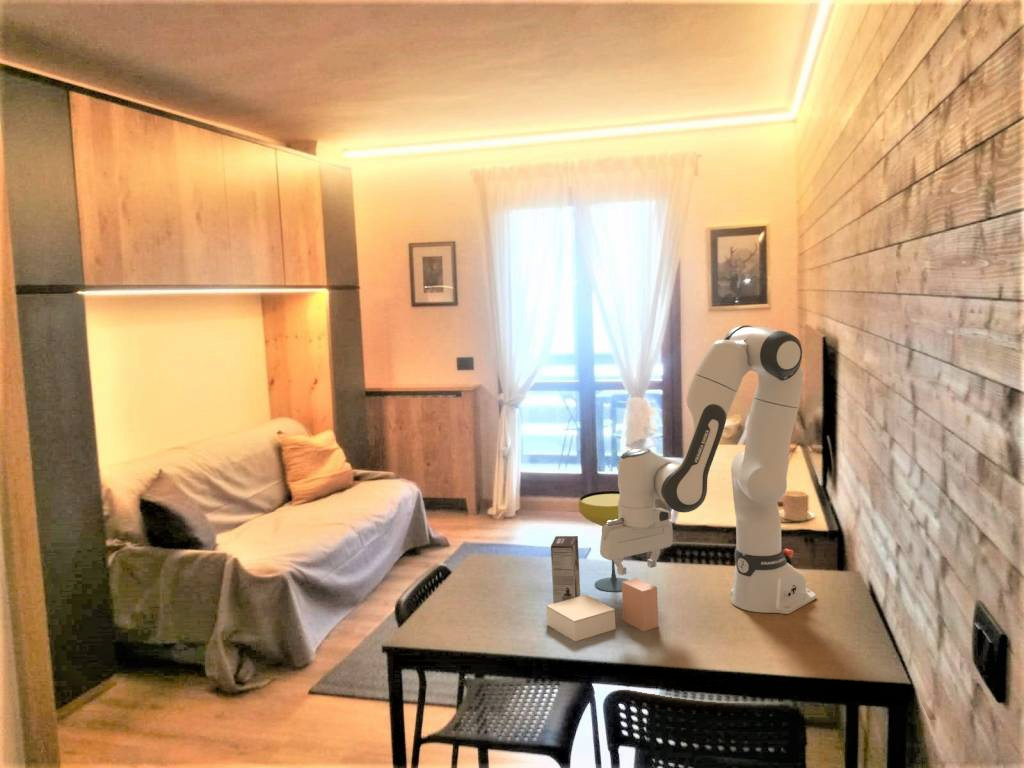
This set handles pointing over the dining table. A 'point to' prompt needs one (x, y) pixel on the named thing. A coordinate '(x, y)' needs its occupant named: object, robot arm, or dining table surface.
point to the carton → (640, 604)
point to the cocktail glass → (600, 511)
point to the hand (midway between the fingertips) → (637, 570)
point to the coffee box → (565, 568)
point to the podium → (580, 617)
